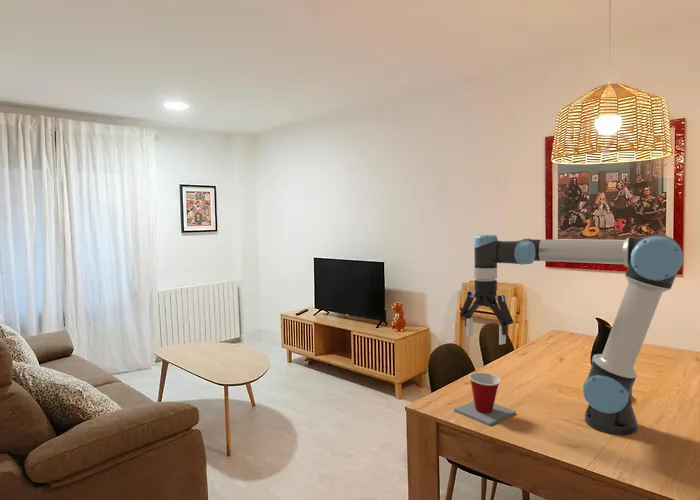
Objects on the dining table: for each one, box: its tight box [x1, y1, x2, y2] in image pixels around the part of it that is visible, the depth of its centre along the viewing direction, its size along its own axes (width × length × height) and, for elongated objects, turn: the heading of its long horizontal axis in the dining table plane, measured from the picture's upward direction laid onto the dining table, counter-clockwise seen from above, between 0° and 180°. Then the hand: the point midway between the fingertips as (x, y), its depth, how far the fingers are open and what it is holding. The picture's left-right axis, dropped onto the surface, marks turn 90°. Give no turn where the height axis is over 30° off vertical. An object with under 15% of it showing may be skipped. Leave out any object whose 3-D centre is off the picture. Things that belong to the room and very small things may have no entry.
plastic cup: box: [468, 371, 502, 413], centre depth 163 cm, size 11×11×12 cm
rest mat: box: [453, 400, 517, 426], centre depth 164 cm, size 15×15×1 cm
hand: (485, 339), depth 162 cm, fingers open, 13 cm apart
